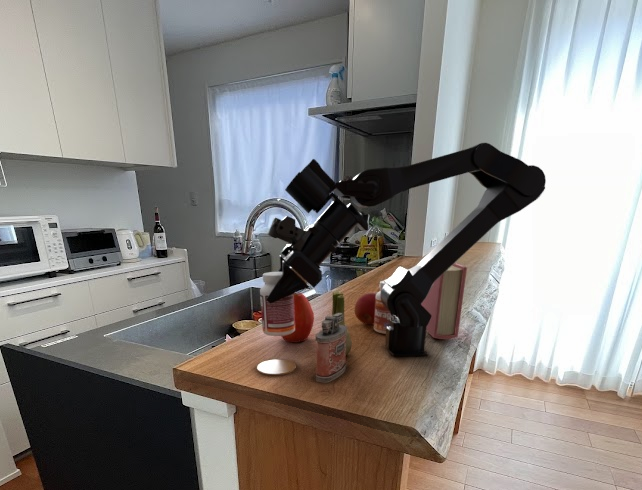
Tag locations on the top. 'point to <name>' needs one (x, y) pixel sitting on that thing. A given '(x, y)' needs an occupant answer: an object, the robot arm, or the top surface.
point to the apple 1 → (301, 319)
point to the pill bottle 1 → (276, 309)
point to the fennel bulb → (339, 308)
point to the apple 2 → (366, 308)
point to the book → (446, 303)
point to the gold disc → (276, 367)
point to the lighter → (331, 349)
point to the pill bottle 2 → (381, 313)
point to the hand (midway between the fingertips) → (268, 297)
